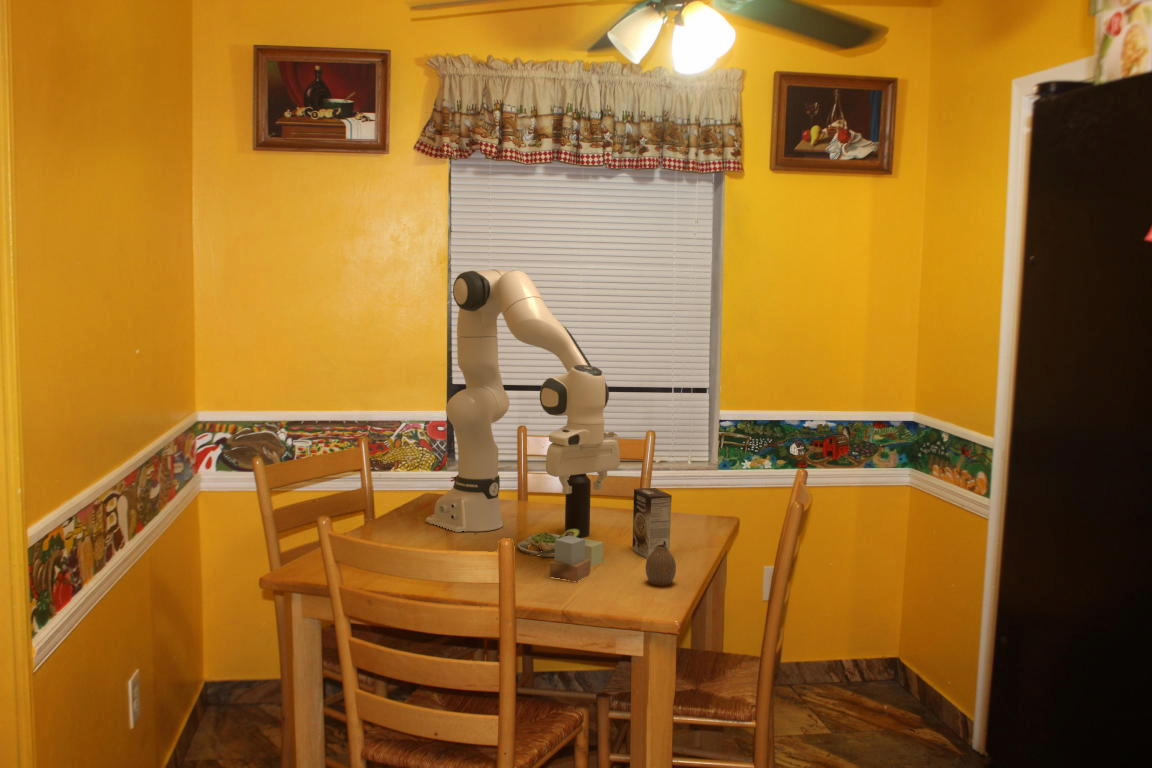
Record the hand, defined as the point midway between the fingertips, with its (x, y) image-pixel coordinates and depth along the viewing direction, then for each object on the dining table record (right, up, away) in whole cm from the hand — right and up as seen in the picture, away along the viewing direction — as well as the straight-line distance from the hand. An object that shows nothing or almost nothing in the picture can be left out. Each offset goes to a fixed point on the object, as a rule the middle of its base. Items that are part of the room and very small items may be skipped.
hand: (582, 491), depth 223 cm
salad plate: (-7, -17, +17) cm, 25 cm away
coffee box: (+17, -18, +13) cm, 28 cm away
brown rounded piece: (+18, -20, -10) cm, 29 cm away
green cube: (+1, -18, +5) cm, 19 cm away
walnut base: (-3, -19, -7) cm, 21 cm away
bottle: (-1, -15, +30) cm, 34 cm away
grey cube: (-3, -15, -7) cm, 17 cm away
